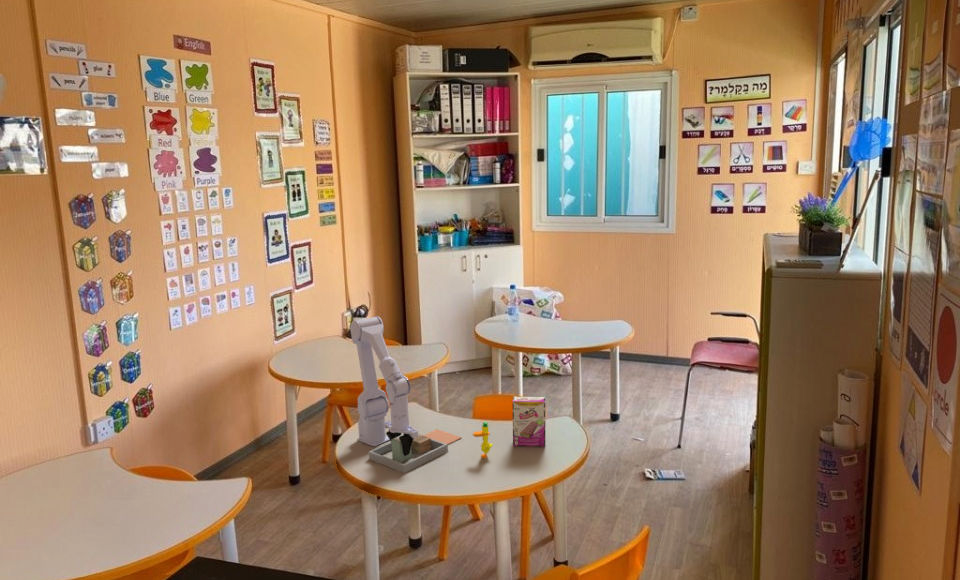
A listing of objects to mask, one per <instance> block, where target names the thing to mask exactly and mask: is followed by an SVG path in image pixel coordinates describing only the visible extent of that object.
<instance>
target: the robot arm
mask: <svg viewBox="0 0 960 580" xmlns="http://www.w3.org/2000/svg"><path fill="white" fill-rule="evenodd" d="M349 329H350V335H351V341H352V344H354V345H356V350H357V355H358V356H357V357H358V361H359V367H360V369H359V370H360V373H361V380H362V386H363V387H362V388H363V391H362V392H361V394H359V395H358V397H357V413H358V415H359V419H358V421H357V422H358V425H357V426H358V428H357V429H358V438H357V439H356V440H357V441H359V442H362V443H363V444H367V445H369V446H371V447H378V446H380V445H382V444H384V443H386V442H388V441H390V442H391V439H393V438H396V437H398V436H400V435H402V434H403V435H402V436H400V437H399V439H400V441H401V444H402V449H403V454H404V456H406V455H408V454H410V449H411V445H412V442H413V440H414V438H416V437H418V434H419V430H417V429H415V428H414V427H412V426H411V425H410V420H409V419H410V418H409V404H408V403H409V401H408V395H409V394H410V393H411V383H410V380H409V378H408V377H407V376H405V374H404V373H402V372H401V370H400V368H399V365H398V363H397V361H396V359H395V358H393V357H391V356H390V353H389V350H388V347H387V344H386V342H385V339H384V336H383V335H384V331H385V329H384V323H383V319H382V318H381V317H380V316H378V315H376V316H374V317H373V316H372V317H367V318H363V319H355V320H353V321H352V322H351V325H350V327H349ZM373 351H374V353H375V355H376V356H377V359H378V360H379V365H378V368H379V370H380V372H381V374H382V377H383V379H384V381H385V384H386V385H385V391H384V390H382V389H380V388H379V383H378V378H377V372H376V371H377V370H376V366H375V364H376V363H375V360H374V354H373ZM389 410H390V420H386V419H385V418H386V416H387V413H388V412H389ZM386 429H388V431H386Z"/></svg>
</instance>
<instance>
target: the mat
mask: <svg viewBox="0 0 960 580" xmlns="http://www.w3.org/2000/svg"><path fill="white" fill-rule="evenodd" d="M423 436H426V437H429V438H431V439H434V440H437V441H440V442H442V443H445V444H448V446H449V445H450V444H453V443H456V442H457V441H459V440H461V439H462V437H461V436H459V435H455V434H452V433H450V432H447V431H443V430H441V429H434V430H432V431H430V432H428V433H425V434H423Z"/></svg>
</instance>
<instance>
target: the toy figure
mask: <svg viewBox="0 0 960 580" xmlns="http://www.w3.org/2000/svg"><path fill="white" fill-rule="evenodd" d="M490 434H491V433H490V432H489V423H488V422H487V421H483V422H482V424H481V430H479V431H473V433H472V436H473V437H475V438H480V437H482V443H481V445H480V448H481V449H480V450H481V451H482V452H483V453H482V454H481V455H480V456H481V458H482V459H486V458H489V457H488V453H489V452H490V450H491V449H492V447H493V445H494V443H490V442H489V435H490Z"/></svg>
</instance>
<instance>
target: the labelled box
mask: <svg viewBox="0 0 960 580" xmlns="http://www.w3.org/2000/svg"><path fill="white" fill-rule="evenodd" d="M402 435H404V434H403V433H401V435H400V436H402ZM400 436H398V437H396V438H393V439H391V441H390V442H391V443H392V450H391V454H392V455H391V457H392V458H391V459H392V460H395V461H397V462H400V463H403V462H404V461H407V460H409V459H411V458H412V457H413V454H412V452H413V451H412V449H410V454H408V455H406V456H404V454H403V449H402V444H401V441H400V439H399V437H400Z"/></svg>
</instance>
